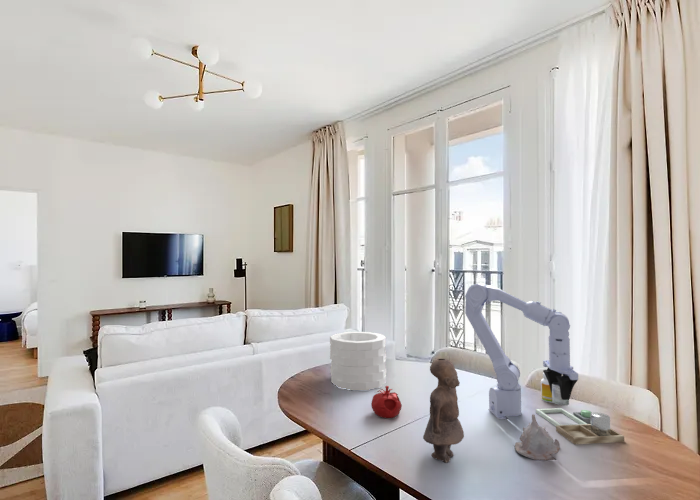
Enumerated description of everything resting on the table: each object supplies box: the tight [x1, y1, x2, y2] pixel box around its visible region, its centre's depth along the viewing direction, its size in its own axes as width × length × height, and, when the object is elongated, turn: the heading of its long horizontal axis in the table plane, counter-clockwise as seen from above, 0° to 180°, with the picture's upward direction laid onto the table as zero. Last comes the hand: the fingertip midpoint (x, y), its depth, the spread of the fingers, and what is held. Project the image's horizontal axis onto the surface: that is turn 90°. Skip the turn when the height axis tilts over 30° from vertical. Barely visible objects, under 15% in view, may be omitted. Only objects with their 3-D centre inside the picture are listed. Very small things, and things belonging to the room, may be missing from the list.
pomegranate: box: [370, 385, 403, 419], centre depth 125 cm, size 10×10×9 cm
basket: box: [329, 331, 387, 391], centre depth 161 cm, size 25×24×19 cm
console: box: [572, 411, 591, 424], centre depth 117 cm, size 5×5×2 cm
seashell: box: [514, 414, 561, 462], centre depth 100 cm, size 10×12×9 cm
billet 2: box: [590, 412, 611, 436], centre depth 107 cm, size 5×5×6 cm
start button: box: [580, 409, 593, 418], centre depth 117 cm, size 3×3×2 cm
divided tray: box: [555, 424, 625, 445], centre depth 106 cm, size 14×8×2 cm, turn 94°
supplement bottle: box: [540, 371, 554, 404], centre depth 136 cm, size 5×5×10 cm
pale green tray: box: [535, 407, 587, 427], centre depth 117 cm, size 9×13×2 cm
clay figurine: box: [422, 358, 465, 464], centre depth 98 cm, size 13×10×25 cm
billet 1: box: [552, 382, 570, 406], centre depth 117 cm, size 5×5×6 cm
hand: (560, 396), depth 117 cm, fingers closed on billet 1, 5 cm apart
